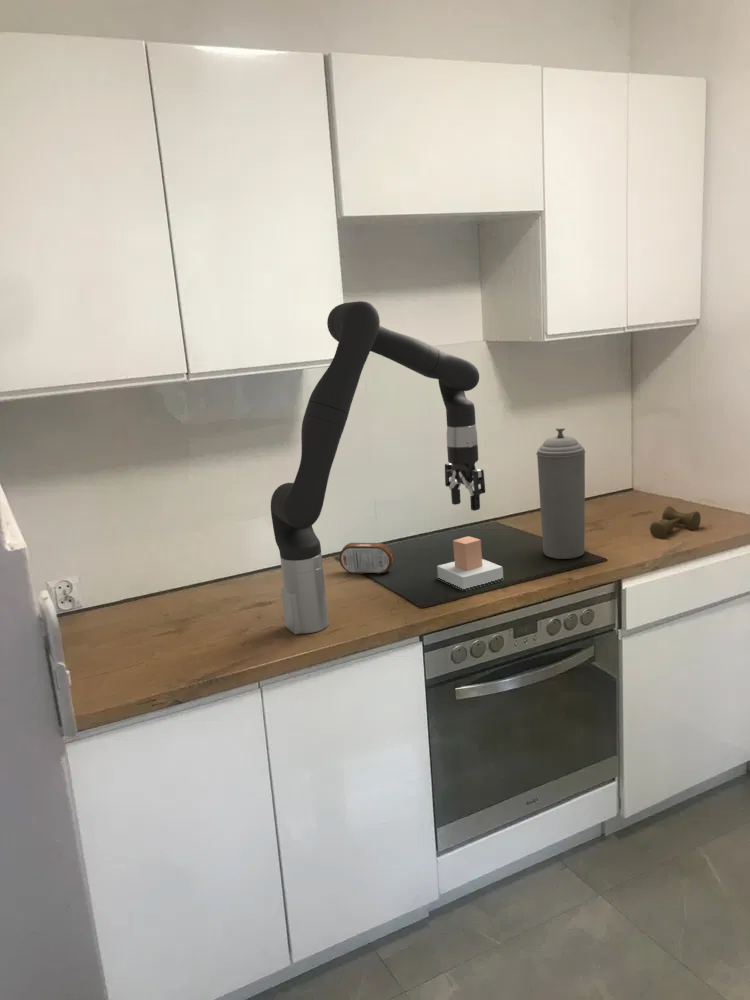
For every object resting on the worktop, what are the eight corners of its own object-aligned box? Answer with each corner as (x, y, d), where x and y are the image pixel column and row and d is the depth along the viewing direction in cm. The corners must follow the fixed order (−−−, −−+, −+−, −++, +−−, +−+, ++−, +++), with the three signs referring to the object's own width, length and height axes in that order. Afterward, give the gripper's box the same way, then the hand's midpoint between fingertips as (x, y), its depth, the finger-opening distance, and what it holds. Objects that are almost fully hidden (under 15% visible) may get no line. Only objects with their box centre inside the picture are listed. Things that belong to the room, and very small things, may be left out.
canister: (542, 547, 223) (537, 425, 215) (588, 547, 219) (585, 422, 211) (538, 561, 211) (533, 432, 203) (587, 561, 207) (584, 430, 200)
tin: (395, 571, 213) (393, 541, 211) (392, 575, 210) (390, 545, 208) (342, 571, 217) (340, 541, 216) (339, 574, 215) (336, 545, 213)
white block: (464, 592, 194) (463, 577, 193) (438, 580, 204) (437, 565, 204) (503, 581, 199) (502, 566, 198) (476, 570, 210) (475, 556, 209)
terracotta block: (467, 570, 198) (465, 544, 196) (454, 566, 202) (452, 540, 200) (482, 566, 200) (480, 539, 199) (470, 561, 204) (468, 536, 203)
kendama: (641, 537, 225) (676, 520, 238) (673, 544, 218) (707, 525, 231) (641, 518, 224) (677, 501, 236) (673, 523, 217) (708, 505, 229)
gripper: (434, 442, 198) (438, 504, 202) (465, 448, 186) (469, 514, 189) (458, 438, 202) (462, 499, 205) (491, 444, 189) (494, 509, 193)
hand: (465, 506), depth 197 cm, fingers open, 8 cm apart
